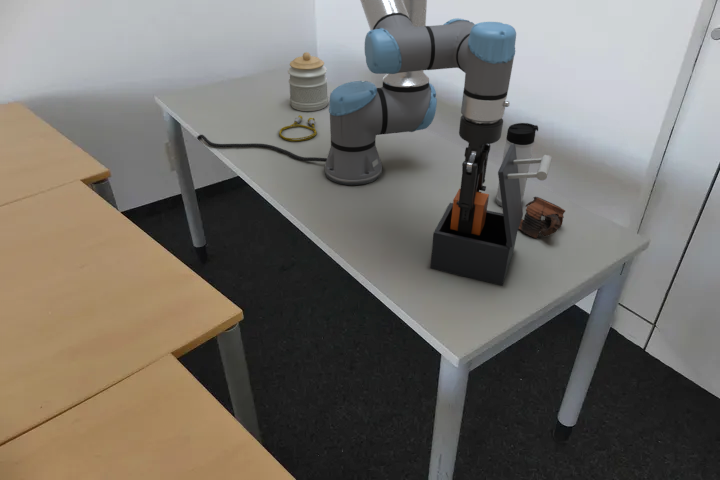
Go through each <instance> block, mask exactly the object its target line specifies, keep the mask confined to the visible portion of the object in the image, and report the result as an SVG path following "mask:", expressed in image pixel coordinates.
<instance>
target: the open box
mask: <svg viewBox="0 0 720 480" xmlns="http://www.w3.org/2000/svg"><path fill="white" fill-rule="evenodd" d="M452 209H453V202H449V204H448V205H447V207H446V209H445V211H444V213H443V215H442V216H441V218H440V220H439V222H438V223H437V226H435V227H436V228H435V229H434V231H433V235H432V246H431V247H432V248H431V256H430V258H431V259H430V269H432V270H437V271H441V272H445V273H449V274H453V275H457V276H461V277H465V278H469V279H473V280H477V281H481V282H485V283H489V284H494V285H498V286H502V287H503V286H504V283H505V280H506V276H507V273H508V270H509V267H510V263H511V260H512V257H513V255H514V250H515V245H516V242H517V235H518V234H517V235H516V238H515V241H514V244H513V247H507V239H506V231H505V223H504V216H503V212H498V211H492V210H488V209H487V212H486V218H485V224H484V226H483V229H482V231H481V234H480V235H475V234H471V235H469V234H465V233H460V232H457V230H452V229H450V227H451V218H452Z"/></svg>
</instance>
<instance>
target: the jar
mask: <svg viewBox="0 0 720 480" xmlns="http://www.w3.org/2000/svg"><path fill="white" fill-rule="evenodd" d="M324 65H325V61H324V60H322V59H320V57H317V56H314V55H311V54H310V52H307V51H305V52H303V53H302V55H301V56H297V57H294V59H293V60H291V61H290V62H289V66H290V67H289V68H288V69H287V74H288V75H289V79H288V85H289V86H288V87H289V103H290V106H291V108H293V109H294V110H296V111H301V112H314V111H319V110H323V109H324V108H326V107H327V106H328V105H329V103H328V102H329V96H328V78H327V75H326V74H327V72H328V69H327V67H326V66H324Z"/></svg>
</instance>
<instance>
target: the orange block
mask: <svg viewBox="0 0 720 480" xmlns="http://www.w3.org/2000/svg"><path fill="white" fill-rule="evenodd" d="M480 192H481V191H479V192H476V197H475V202H474V204H475V212H474V219H473V226H472V233H471V234H475V235H480V234H481V231H482V229H483V226H484V224H485V218H486V212H487V210H488V204H489V198H490V194H489V193H484V192H481V193H480ZM459 197H460V188H459V189H458V190H457V192H456V194H455V196H454V197H453V199H452V200H453V201H452V203H453V209H452V218H451V227H450V229H452V230H458V222H459V214H460V207H458V205H457V204H456V203H457V201H459Z"/></svg>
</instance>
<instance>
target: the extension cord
mask: <svg viewBox="0 0 720 480" xmlns="http://www.w3.org/2000/svg"><path fill="white" fill-rule="evenodd" d="M302 120H303V116H302V115H298V116H297V117H295V119H294V122H293V123H292V124H290V125H286V126H283V127H281V128H280V130H279V131H278V136H279V137H280V138H281V139H282V140H285V141H288V142H304V141H308V140H311V139H313V138H315V136H316V135H317V133H318V132H317V130H316V127H315V124H316V121H315V120H316V119H315V118H314V117H309V118H307V123H308V124H309V126H308V125H304V124H300V123H302ZM292 128H293V129H294V128H304V129H308V130H311V131H313V133H312V134H310V135H306V136H302V137H287V136H284V135H282V132H283V131H284V130H287V129H292Z"/></svg>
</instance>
